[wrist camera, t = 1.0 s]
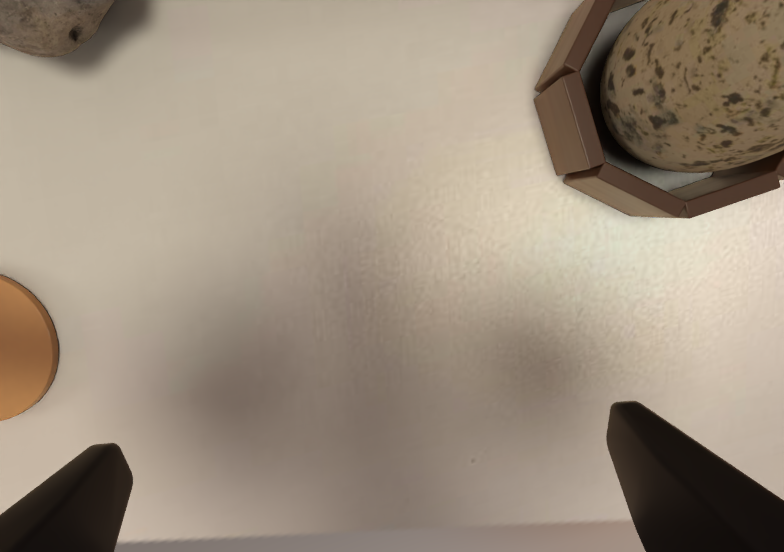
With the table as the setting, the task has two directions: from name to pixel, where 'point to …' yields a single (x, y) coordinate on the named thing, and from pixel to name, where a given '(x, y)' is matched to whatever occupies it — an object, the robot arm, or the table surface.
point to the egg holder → (583, 148)
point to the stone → (49, 24)
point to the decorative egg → (698, 84)
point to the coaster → (24, 349)
